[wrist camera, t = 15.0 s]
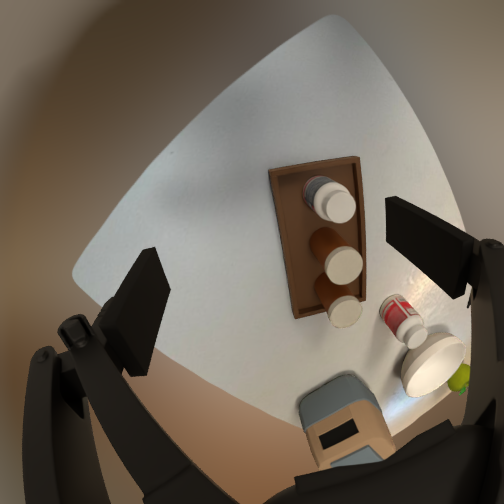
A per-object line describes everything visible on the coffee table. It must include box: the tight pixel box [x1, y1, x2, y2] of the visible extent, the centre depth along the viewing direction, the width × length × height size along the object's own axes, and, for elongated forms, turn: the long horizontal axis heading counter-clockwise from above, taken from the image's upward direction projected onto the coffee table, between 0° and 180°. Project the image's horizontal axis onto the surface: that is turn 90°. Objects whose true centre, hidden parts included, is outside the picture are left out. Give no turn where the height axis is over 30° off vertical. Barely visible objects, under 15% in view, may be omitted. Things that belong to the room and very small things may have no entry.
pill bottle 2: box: [380, 295, 428, 349], centre depth 47 cm, size 6×6×11 cm
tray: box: [268, 156, 366, 319], centre depth 44 cm, size 26×14×2 cm, turn 11°
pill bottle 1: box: [303, 176, 356, 223], centre depth 37 cm, size 5×5×9 cm
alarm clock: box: [299, 375, 396, 471], centre depth 52 cm, size 17×17×23 cm
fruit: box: [447, 363, 470, 395], centre depth 63 cm, size 9×9×10 cm
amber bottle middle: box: [310, 227, 363, 285], centre depth 40 cm, size 5×5×9 cm
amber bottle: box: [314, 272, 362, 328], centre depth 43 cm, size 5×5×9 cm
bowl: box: [401, 333, 466, 397], centre depth 56 cm, size 19×19×9 cm
